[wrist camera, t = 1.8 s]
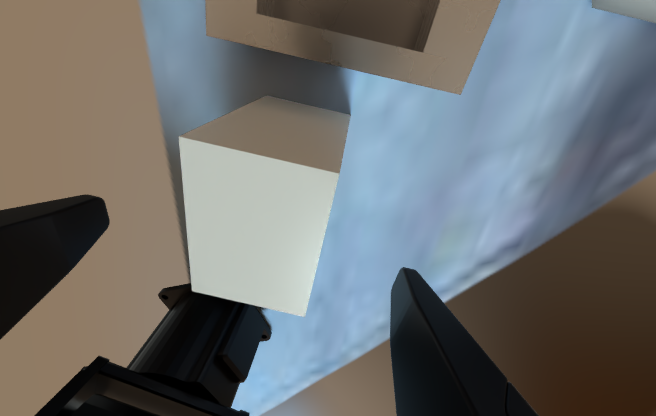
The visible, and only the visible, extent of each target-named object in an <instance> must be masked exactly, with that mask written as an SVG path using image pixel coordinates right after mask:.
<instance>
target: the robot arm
mask: <svg viewBox="0 0 656 416" xmlns="http://www.w3.org/2000/svg"><path fill="white" fill-rule="evenodd" d="M108 225H109V216H108V213H107V209H106V205H105V202H104V200H103V199H102V198H100V197H96V196H92V195H80V196H75V197H69V198H64V199H59V200H53V201H48V202H42V203H37V204H32V205H26V206H21V207H16V208H10V209H5V210H0V339H1V338H2V337H3V336H4V335H5V334H6V333H8V332H9V331H10V330H11V329H12V327H14V326H15V325H16V324H17V323H18V322H19V321H20V320H21V319H22V318H23V317H24V316H25V315H26V314H27V313H28V312H29V311H30V310H31V309H32V308H33V307H34V306H35V305H36V304H37V303H38V302H39V301H40V300H41V299H42V298H44V296H46V294H48V293H49V292H50V291H51V290H52V289H53V288H54V287H55V286H56V285H57V284H58V283H59V282H60V281H61V280H62V279H63V278H64V277H65V276H66V275H67V274H68V273H69V272H70V271H71V270H72V269H73V268H74V267H75V266H76V264H77V263H78V262H79V261H80V260H81V259H82V257H83V256H84V255H85V254H86V253H87V252H88V250H89V249H90V248H91V247H92V246H93V245H94V243H95V242H96V241H97V240H98V239H99V238H100V236H101V235H102V234H103V233H104V232H105V231H106V229H107V228H108ZM158 296H159V298H160V299H161V300H162V302H163V303H164V304H165V305H166V306H167V307H168V309H169V311H168V313H167V314H166V315H165V317H164V318H163V319H162V321H161V322H160V323H159V325H158V326H157V327H156V329H155V330H154V331H153V333H152V334H151V336H150V337H149V338H148V339H147V341H146V342H145V344H144V345H143V347H142V348H141V349H140V350H139V352H138V353H137V354H136V356H135V357H134V358H133V360H132V361H131V362H130V364H129V365H128V366H127V368H124V367H122V366H119V365H116V364H114V363H111V362H109V359H107V358H104V357H102V356H98V357H97V358H96V359H95V360H94V361H93V362H92V363H91V364H90V365H89V366H87V367H83V368H82V369H81V371H80V372H79V373H78V374H77V375H75V376H74V377H73V378H72V379H71V380H70V381H69V382H68V383H67V384H66V385H65V386H64V387H63V388H62V389H61V390H60V391H59V392H58V393H57V394H56V395H55V396H54V397H53V398H52V399H51V400H50V401H49V402H48V403H47V404H46V405H45V406H44V407H43V408H42V409H41V410H40V411H39V412H38V413H37V414H36V415H35V416H249V413H248V412H246V411H243V410H240V411H237V410H235V409H232V408H231V406H232V403H233V400H234V398H235V395H236V392H237V389H238V387H239V384H240V383H242V382H244V381H245V380H246V378H247V376H248V373H249V370H250V367H251V365H252V362H253V359H254V356H255V353H256V350H257V348H258V345H259V342H260V341H267V340H269V339H270V337H271V334H272V332H271V330H270V329H269V327H268V326H267V324H266V323H265V321H264V320H263V318H262V316H261V315H260V313H259V312H258V310H257V309H256V307H255V306H254V305H250V304H246V303H242V302H237V301H233V300H229V299H224V298H220V297H215V296H211V295H207V294H202V293H198V292H194V291H192V286H191V283H189V284H184V285H179V286H173V287H168V288H164V289H162V290H161V292H160V293H159V294H158ZM390 347H391V359H392V370H393V380H394V392H395V402H396V413H397V416H539V415H538V414H537V413H536V412H535V410H534V409H533V408H532V407H531V406H530V405H529V404H528V403H527V401H526V400H525V399H524V398H523V397H522V395H521V394H520V393H519V392H518V391H517V389H516V388H515V387H514V386H513V385H512V383H510V382H508V380H507V378H506V377H505V375H504V374H503V373H502V372H501V371H500V369H499V368H498V367H497V366H496V365H495V363H494V362H493V361H492V360H491V359H490V358H489V356H488V355H487V354H486V353H485V352H484V350H483V349H482V348H481V347H480V346H479V344H478V343H477V342H476V341H475V340H474V339H473V337H472V336H471V335H470V334H469V333H468V331H467V330H466V329H465V328H464V327H463V325H462V324H461V323H460V322H459V321H458V319H457V318H456V317H455V316H454V315H453V313H451V311H450V310H449V309H448V308H447V306H446V305H445V304H444V303H443V302H442V300H441V299H440V298H439V297H438V296H437V294H436V293H435V292H434V291H433V290H432V288H431V287H430V286H429V285H428V284H427V283H426V281H425V280H424V279H423V278H422V277H421V275H420V274H419V273H418V272H417V271H416V270H414V269H410V268H405V267H403V268H401V269H400V271H399V273H398V275H397V277H396V280H395V282H394V284H393V286H392V290H391V319H390Z"/></svg>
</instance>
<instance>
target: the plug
mask: <svg viewBox="0 0 656 416" xmlns="http://www.w3.org/2000/svg"><path fill="white" fill-rule="evenodd" d="M350 116H351V115H349V114H345V113H340V112H336V111H332V110H327V109H323V108H319V107H315V106H310V105H306V104H302V103H297V102H293V101H289V100H284V99H280V98H276V97H272V96H267V95H266V96H264V97H262V98H260V99H258V100H255V101H253V102H251V103H249V104H247V105H245V106H243V107H240V108H238V109H236V110H234V111H232V112H230V113H228V114H226V115H223V116H221V117H219V118H217V119H215V120H213V121H211V122H208V123H206V124H204V125H202V126H200V127H198V128H196V129H194V130H191V131H189V132H187V133H185V134H183V135H181V136H179V147H180V158H181V170H182V181H183V193H184V204H185V216H186V228H187V239H188V251H189V262H190V274H191V286H192V291H194V292H198V293H202V294H207V295H211V296H215V297H220V298H224V299H229V300H233V301H237V302H242V303H246V304H250V305H255V306H259V307H263V308H268V309H272V310H276V311H281V312H285V313H290V314H294V315H298V316H303V317H305V314H306V310H307V306H308V302H309V298H310V294H311V289H312V285H313V281H314V277H315V273H316V269H317V265H318V260H319V256H320V252H321V248H322V244H323V240H324V236H325V231H326V227H327V223H328V219H329V215H330V211H331V207H332V202H333V198H334V194H335V190H336V186H337V182H338V178H339V173H340V168H341V163H342V158H343V152H344V147H345V142H346V137H347V132H348V127H349V121H350Z"/></svg>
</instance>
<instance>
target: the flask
mask: <svg viewBox="0 0 656 416" xmlns="http://www.w3.org/2000/svg"><path fill="white" fill-rule="evenodd" d="M592 8H595V9H600V10H604V11H608V12H612V13H616V14H620V15H624V16H628V17H632V18H637V19H641V20H645V21H649V22H653V23H656V0H592Z"/></svg>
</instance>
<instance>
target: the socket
mask: <svg viewBox="0 0 656 416" xmlns="http://www.w3.org/2000/svg"><path fill="white" fill-rule="evenodd" d="M205 1H206V35H207V36H211V37H215V38H220V39H224V40H228V41H232V42H237V43H241V44H245V45H249V46H254V47H258V48H262V49H267V50H271V51H275V52H279V53H284V54H288V55H292V56H297V57H301V58H305V59H309V60H314V61H318V62H322V63H326V64H331V65H335V66H339V67H344V68H348V69H352V70H356V71H361V72H365V73H369V74H374V75H378V76H382V77H386V78H391V79H395V80H399V81H404V82H408V83H412V84H416V85H421V86H425V87H429V88H433V89H438V90H442V91H446V92H451V93H455V94H459V95H461V93H462V90H463V88H464V85H465V83H466V81H467V78H468V76H469V74H470V71H471V69H472V67H473V64H474V62H475V59H476V57H477V55H478V52H479V50H480V48H481V45H482V43H483V41H484V38H485V36H486V34H487V31H488V29H489V26H490V24H491V22H492V19H493V17H494V15H495V12H496V10H497V8H498V5H499V3H500V0H205Z"/></svg>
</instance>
